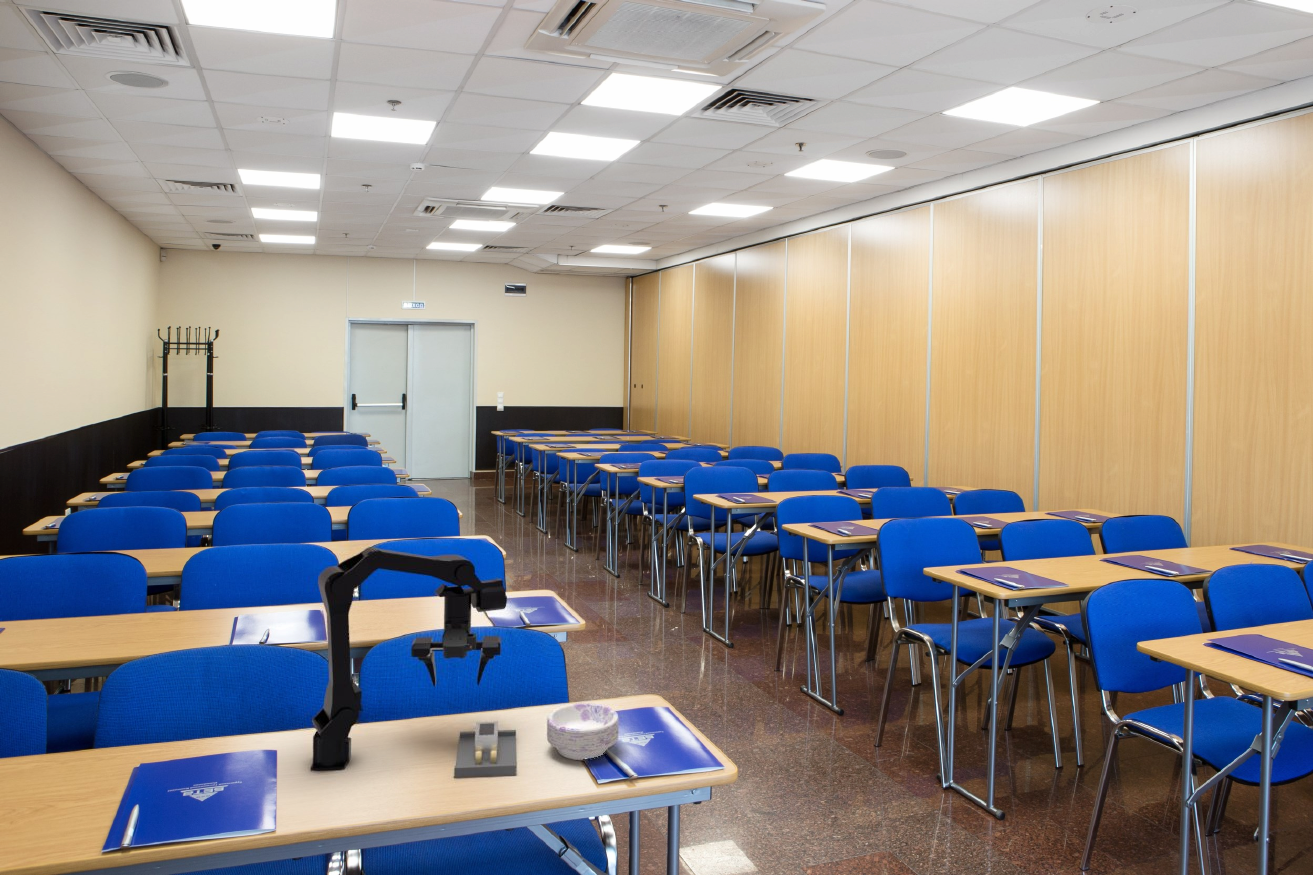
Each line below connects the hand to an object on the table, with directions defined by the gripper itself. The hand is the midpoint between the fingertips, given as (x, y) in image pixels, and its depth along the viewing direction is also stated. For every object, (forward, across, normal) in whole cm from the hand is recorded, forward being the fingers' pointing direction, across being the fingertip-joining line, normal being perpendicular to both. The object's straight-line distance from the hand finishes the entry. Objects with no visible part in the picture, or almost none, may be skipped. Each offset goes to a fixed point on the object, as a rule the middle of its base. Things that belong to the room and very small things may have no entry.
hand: (456, 685), depth 187 cm
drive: (+11, +7, -10) cm, 16 cm away
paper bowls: (+12, +27, -9) cm, 31 cm away
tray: (+12, +7, -10) cm, 17 cm away
